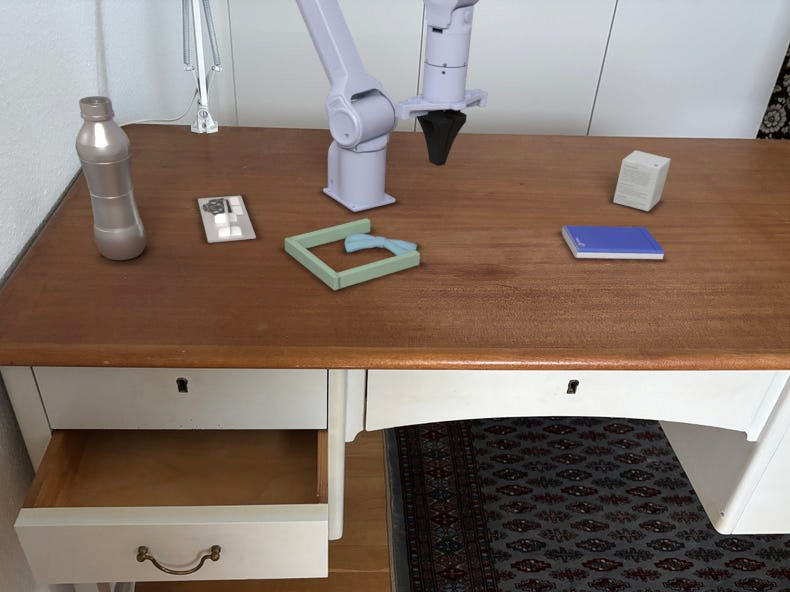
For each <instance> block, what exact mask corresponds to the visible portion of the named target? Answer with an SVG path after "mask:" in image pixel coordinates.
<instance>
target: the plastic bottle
mask: <svg viewBox="0 0 790 592" xmlns="http://www.w3.org/2000/svg"><path fill="white" fill-rule="evenodd" d="M78 104H79V110H80V112H79V114H80V118H81V119H82V120H83V123H82V125H81V127H80V128H79V131H78V132H77V135H76V138H75V144H74V145H75V151H76V154H77V156H78V157H77V158H78V160H79V162H80V166H81V169H82V171H83V174H84V176H85V180H86V184H87V187H88V190H89V195H90V198H91V199H90V200H91V208H92V215H93V240H94V241H93V242H94V243H95V245H96V249H97V250H98V252H99V253H100V254H101V255H102V256H103V257H105V258H106V259H109V260H114V261H125V260H130V259H134V258H137V257H138V256H140V255H141V254H142V253H143V252H144V250H145V248H146V246H147V233H146V230H145V226H144V223H143V221H142V218H141V217H140V212H139V208H138V204H137V201H136V196H135V190H134V182H133V181H134V180H133V174H132V173H133V172H132V171H133V169H132V168H133V167H132V145H131V141H130V139H129V137H128V135H127V134H126V132H125V130H124V129H122V127H121V126H120V125H119V124H118V123H117V122H116V121H115V120H114V117H115V116H116V115H115V111H114V109H113V104H112V99H111V98H110V97H108V96H102V95H93V96H86V97H83V98H80V99H79V100H78Z"/></svg>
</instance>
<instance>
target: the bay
mask: <svg viewBox="0 0 790 592" xmlns="http://www.w3.org/2000/svg"><path fill="white" fill-rule="evenodd" d="M370 232H371V220H370V219H369V218H367V217H366V218H362V219H358V220H354V221H350V222H346V223H342V224H338V225H334V226H330V227H326V228H321V229H318V230H314V231H310V232H306V233H301V234H298V235H294V236H289V237H286V238H284V251H285V252H286V253H288V254H289V255H290V256H291V257H293V258H294V259H295V260H296V261H297V262H298V263H300V264H301V265H303V267H305V268H306V269H307V270H308V271H309V272H311V273H312V274H314V275H315V276H316V277H317V278H318V279H319V280H321V281H322V282H323V283H325V285H327V286H328V287H329V288H331V290H333V291H337V290H340V289H343V288H346V287H349V286H353V285H356V284H360V283H364V282H366V281H369V280H374V279H376V278H380V277H383V276H387V275H389V274H393V273H397V272H400V271H403V270H406V269H410V268H414V267H416V266H420V261H421V260H420V259H421V253H420V252H419V251H418V250H417V249H416V250H415V251H412V252H408V253H405V254H401V255H398V256H397V255H395V256H391V257H388V258H384V259H380V260H377V261H374V262H371V263H367V264H363V265H360V266H356V267H353V268H350V269H346V270H343V271H338V272H337V271H335V270H334V269H333V268H331V267H330V266H329V265H328V264H326V263H325V262H323V260H321V259H320V258H319V257H317V256H316V255H315V254H314V253H312V252H311V251H309V250H308V249H309V248H310V249H311V248H313V247H316V246H317V247H318V246H321V245H324V244H325V245H326V244H328V243H329V244H330V243H332V242H336V241H340V240H344V239H346V237H347V236H349V235H353V234H367V233H370Z"/></svg>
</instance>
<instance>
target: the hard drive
mask: <svg viewBox="0 0 790 592" xmlns="http://www.w3.org/2000/svg"><path fill="white" fill-rule="evenodd" d="M561 236H562V237H563V239H564V241H565V243H566V245H567V246H568V248H569V249H570V251H571V253H572V255H573V256H574V258H575V259H612V260H613V259H615V260H616V259H617V260H663V259H664V255H665V249H664V248H663V247H662V246H661V244H660V243H659V242H658V241H657V240H656V239H655V237H654V236H653V235H652V234H651V233H650V231H649V230H648V228H647V227H645V226H635V227H634V226H605V225H604V226H603V225H602V226H601V225H568V224H567V225H565V224H564V225H562V229H561Z"/></svg>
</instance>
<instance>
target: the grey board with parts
mask: <svg viewBox="0 0 790 592" xmlns="http://www.w3.org/2000/svg"><path fill="white" fill-rule="evenodd" d="M197 202H198V207H199V210H200V215H201V219H202V220H201V221H202V224H203V228H204V231H205V236H206V240H207V243H220V242H230V241H231V242H232V241H242V240H243V241H244V240H254V239H257V236H256V233H255V230H254V228H253V224H252V222H251V219H250V216H249V213H248V211H247V208H246V205H245V202H244V200H243V197H242V195H229V196H216V197H215V196H213V197H202V198H197Z"/></svg>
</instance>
